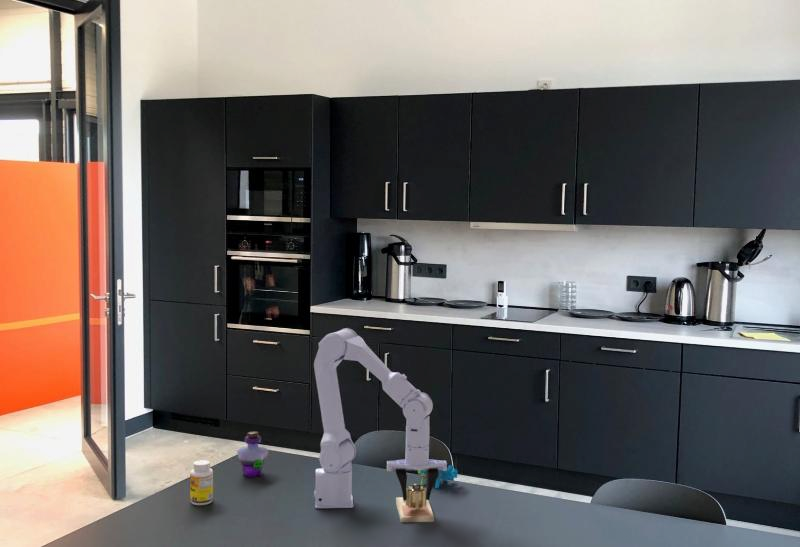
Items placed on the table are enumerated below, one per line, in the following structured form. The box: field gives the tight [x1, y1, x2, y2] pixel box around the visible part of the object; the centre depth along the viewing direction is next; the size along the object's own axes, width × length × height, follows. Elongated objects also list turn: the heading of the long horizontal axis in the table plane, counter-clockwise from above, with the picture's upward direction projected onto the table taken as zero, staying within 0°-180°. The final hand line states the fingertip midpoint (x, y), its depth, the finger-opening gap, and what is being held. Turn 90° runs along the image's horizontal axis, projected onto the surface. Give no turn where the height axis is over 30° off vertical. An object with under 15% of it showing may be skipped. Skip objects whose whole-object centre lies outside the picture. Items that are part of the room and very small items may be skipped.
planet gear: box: [406, 482, 427, 509], centre depth 192 cm, size 5×5×5 cm
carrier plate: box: [395, 496, 435, 523], centre depth 195 cm, size 8×13×1 cm, turn 6°
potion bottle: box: [236, 431, 269, 479], centre depth 219 cm, size 9×9×12 cm
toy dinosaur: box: [417, 464, 459, 490], centre depth 214 cm, size 11×6×10 cm
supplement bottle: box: [189, 459, 214, 506], centre depth 198 cm, size 6×6×10 cm
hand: (415, 498), depth 193 cm, fingers closed on planet gear, 5 cm apart
